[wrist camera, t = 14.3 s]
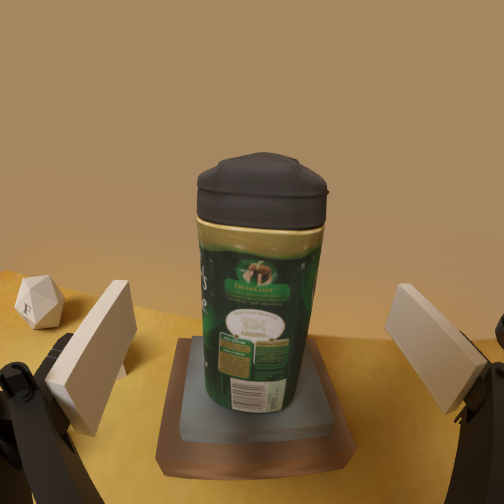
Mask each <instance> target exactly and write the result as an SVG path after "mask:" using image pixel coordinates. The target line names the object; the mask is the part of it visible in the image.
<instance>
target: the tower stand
mask: <svg viewBox="0 0 504 504" xmlns="http://www.w3.org/2000/svg"><path fill="white" fill-rule="evenodd" d="M356 450H357V447H356V445H355V442H354V439H353V437H352V434H351V431H350V429H349V426H348V423H347V421H346V418H345V416H344V413H343V410H342V408H341V405H340V403H339V400H338V398H337V395H336V392H335V390H334V387H333V385H332V382H331V380H330V377H329V375H328V372H327V370H326V367H325V365H324V362H323V360H322V357H321V355H320V352H319V350H318V347H317V345H316V342H315V340H314V338H306V343H305V348H304V354H303V360H302V364H301V370H300V374H299V379H298V383H297V388H296V392H295V395H294V398H293V400H292V401H291V403H290V404H289V405H288V406H287V407H285V408H284V409H282V410H280V411H277V412H274V413H266V414H251V413H243V412H238V411H234V410H231V409H228V408H225V407H223V406H220V405H218V404H217V403H215V402H214V401H213V400H212V399H211V398H210V397H209V395H208V393H207V391H206V385H205V371H204V345H203V336H192V339H189V338H178V342H177V346H176V351H175V355H174V360H173V365H172V369H171V374H170V379H169V384H168V389H167V394H166V399H165V405H164V410H163V415H162V421H161V427H160V432H159V438H158V444H157V451H156V457H155V459H156V460H157V462H158V464H159V466H160V468H161V470H162V472H163V474H164V475H165V476H169V477H178V478H189V479H205V480H255V479H271V478H282V477H292V476H300V475H307V474H313V473H319V472H325V471H330V470H335V469H340V468H344V466H345V465H346V463H347V462H348V461H349V459H350V458H351V457H352V455H353V454H354V452H355V451H356Z"/></svg>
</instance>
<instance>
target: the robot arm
mask: <svg viewBox="0 0 504 504" xmlns="http://www.w3.org/2000/svg"><path fill="white" fill-rule="evenodd" d="M385 329H386V331H387V332H388V333H389V335H390V336H391V337H392V339H393V340H394V342H395V343H396V344H397V346H398V347H399V349H400V350H401V351H402V353H403V354H404V356H405V357H406V358H407V360H408V361H409V363H410V364H411V366H412V367H413V368H414V370H415V371H416V373H417V374H418V376H419V377H420V379H421V380H422V382H423V383H424V385H425V386H426V388H427V389H428V391H429V392H430V394H431V395H432V397H433V398H434V400H435V401H436V403H437V404H438V406H439V408H440V409H441V411H442V412H443V414H444V415H445V414H448V413H450V412H453V411H455V410H456V409H457V408H458V407H459V405H460V404H461V402H462V401H463V400H464V402H465V403H466V405H465V406H464V408H463V409H462V410H461V412H460V413H459V414H458V416H457V417H456V418H455V420H454V423H456V422H457V421H458V419H459V418H460V417H462V419H461V421H460V422H459V423H458V424H461V427H460V435H459V441H458V447H457V453H456V458H455V463H454V468H453V472H452V477H451V481H450V485H449V488H448V492H447V495H446V499H445V502H444V504H504V363H501V362H495V363H493V364H492V363H491V362H490V361H489V360H488V359H487V358H486V357H485V356H484V355H483V353H482V352H481V351H480V350H479V349H478V348H477V347H476V346H474V344H473V343H472V342H471V341H469V339H468V338H467V337H466V336H465V335H464V333H462V332H461V331H459V330H458V329H456V328H455V327H454V326H453V325H452V324H451V323H450V322H449V321H448V320H447V319H446V318H445V317H444V316H443V315H442V314H441V313H440V312H439V311H438V310H437V309H436V308H435V307H434V306H433V305H432V304H431V303H430V302H429V301H428V300H427V299H426V298H425V297H423V296H422V295H421V294H420V293H419V292H418V291H417V290H416V289H415V288H414V287H412V285H410V284H398V286H397V290H396V293H395V297H394V300H393V304H392V307H391V310H390V313H389V316H388V319H387V322H386V325H385ZM136 331H137V327H136V321H135V316H134V311H133V305H132V300H131V293H130V287H129V281H126V280H113V282H112V283H111V284H110V286H109V287H108V288H107V289H106V291H105V292H104V293H103V295H102V296H101V297H100V299H99V300H98V301H97V303H96V304H95V305H94V307H93V308H92V309H91V311H90V312H89V314H88V315H87V316H86V318H85V319H84V321H83V322H82V323H81V325H80V326H79V328H78V329H77V331H76V332H75V333H74V334H72V333H66V334H65V335H64V336H62V337H61V338H60V339H58V340H57V342H56V343H55V345H54V346H53V348H52V350H50V352H49V353H48V356H47V357H46V358H45V359H44V361H43V362H42V364H41V365H40V367H39V368H38V370H37V371H36V373H35V374H34V376H33V375H32V373H31V372H30V370H29V368H28V366H27V365H26V364H24V363H22V362H12V363H9V364H7V365H5V366H4V367H3V368H2V369H1V370H0V386H1V388H2V390H3V391H0V504H33V499H32V494H33V496H34V499H35V501H36V504H105V503H104V501H103V500H102V498H101V496H100V495H99V493H98V491H97V489H96V488H95V486H94V484H93V482H92V480H91V479H90V477H89V475H88V473H87V471H86V469H85V467H84V465H83V463H82V461H81V459H80V457H79V455H78V452H77V450H76V448H75V446H74V443H73V441H72V439H71V436H70V434H69V433H68V431H67V430H68V427H69V425H70V424H71V425H72V427H73V428H74V430H75V431H76V432H77V433H81V434H84V435H88V436H92V437H95V434H96V431H97V428H98V426H99V423H100V420H101V417H102V414H103V412H104V409H105V406H106V404H107V401H108V398H109V396H110V393H111V391H112V388H113V385H114V383H115V380H116V378H117V375H118V373H119V370H120V368H121V366H122V363H123V361H124V358H125V356H126V354H127V351H128V349H129V347H130V344H131V342H132V340H133V338H134V335H135V333H136ZM495 333H496V337H497V339H498V341H499V343H500V344H501V346H502V347H503V348H504V314H503V316H502V317H501V318H500V320H499V322H498V325H497V327H496V329H495ZM31 491H32V492H31Z"/></svg>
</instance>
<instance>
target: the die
mask: <svg viewBox="0 0 504 504" xmlns="http://www.w3.org/2000/svg"><path fill="white" fill-rule="evenodd" d="M64 301H65V297H64V296H63V294H62V293H61V291H60V290H59V288H58V287H57V286H56V284H55V283H54V281H53V280H52V278H51V277H50V275H45V276H37V277H30V278H23V281H22V284H21V287H20V290H19V293H18V297H17V300H16V304H15V309H16V310H17V311H18V313H19V314H20V315H21V316H22V318H23V319H24V320H25V321H26V322H27V323H28V325H29V326H30V327H31V328H32V329H42V328H52V327H59V323H60V318H61V314H62V309H63V305H64Z"/></svg>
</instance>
